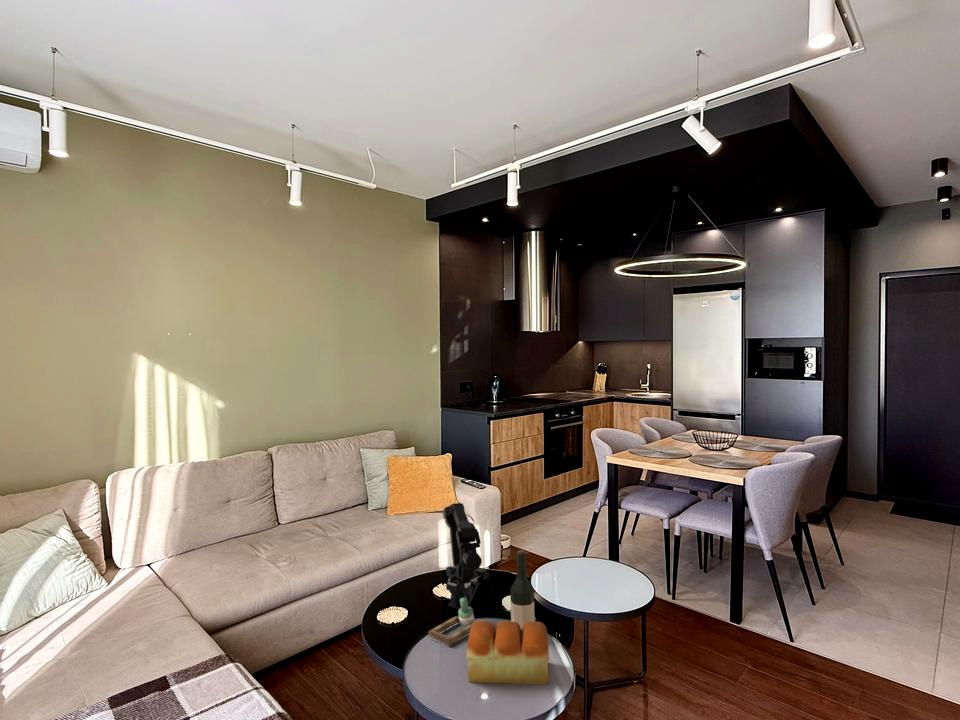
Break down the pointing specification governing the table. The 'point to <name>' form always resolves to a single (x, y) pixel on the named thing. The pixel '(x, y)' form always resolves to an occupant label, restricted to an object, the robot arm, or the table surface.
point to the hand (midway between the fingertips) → (468, 602)
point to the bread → (508, 653)
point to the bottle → (465, 613)
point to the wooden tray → (453, 638)
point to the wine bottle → (522, 594)
